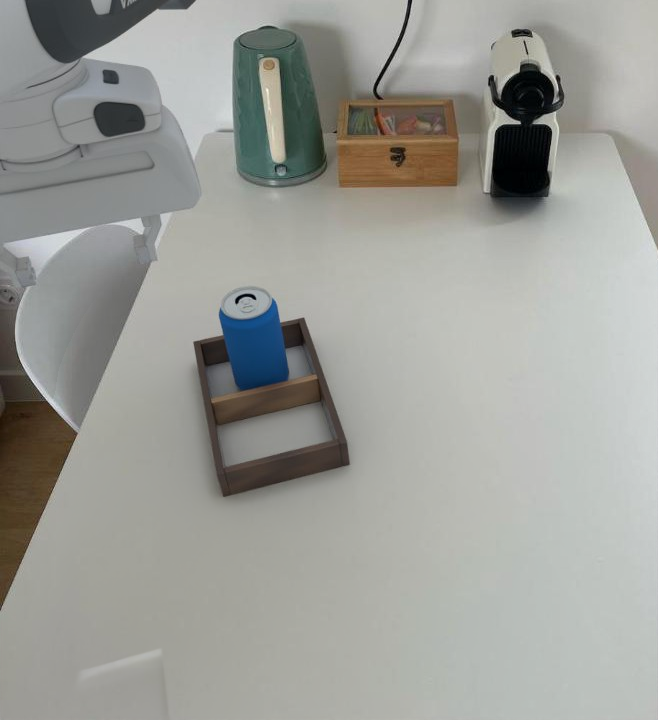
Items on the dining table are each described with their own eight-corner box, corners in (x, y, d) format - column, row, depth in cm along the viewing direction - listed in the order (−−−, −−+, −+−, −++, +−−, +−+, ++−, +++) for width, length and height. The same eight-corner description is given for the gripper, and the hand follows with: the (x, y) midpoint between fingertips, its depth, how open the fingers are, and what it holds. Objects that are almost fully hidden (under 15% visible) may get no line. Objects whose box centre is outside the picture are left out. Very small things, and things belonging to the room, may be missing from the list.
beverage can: (283, 356, 100) (269, 278, 92) (295, 391, 95) (281, 312, 87) (231, 369, 98) (212, 291, 90) (240, 405, 94) (221, 326, 86)
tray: (223, 497, 84) (216, 474, 82) (199, 363, 99) (193, 341, 97) (349, 464, 87) (347, 442, 84) (307, 339, 102) (304, 317, 100)
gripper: (-147, 154, 51) (-55, 322, 60) (180, 101, 55) (219, 267, 64) (-130, 112, 56) (-47, 274, 65) (172, 66, 60) (209, 225, 69)
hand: (88, 270), depth 65 cm, fingers open, 8 cm apart
